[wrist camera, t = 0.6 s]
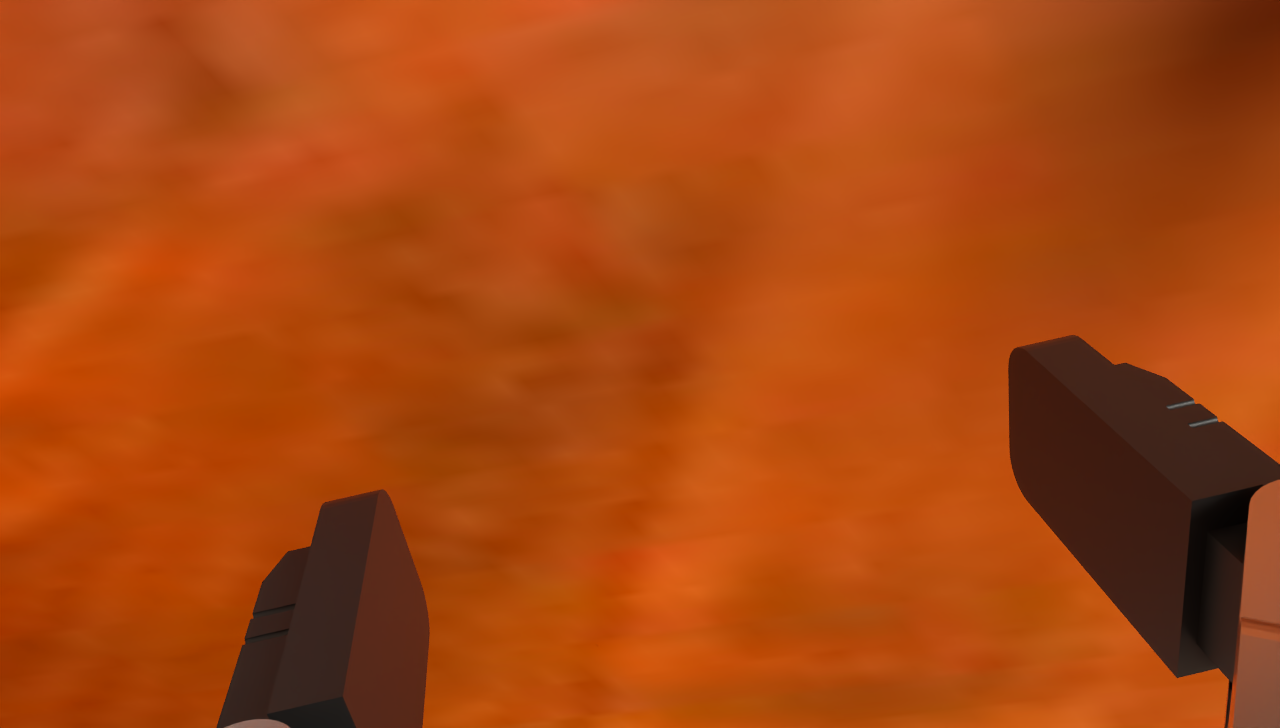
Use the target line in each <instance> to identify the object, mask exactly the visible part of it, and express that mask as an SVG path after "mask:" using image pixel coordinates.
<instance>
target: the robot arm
mask: <svg viewBox="0 0 1280 728" xmlns="http://www.w3.org/2000/svg"><path fill="white" fill-rule="evenodd" d="M1008 372H1009V438H1010V458H1011V464H1012V469H1013V472H1014V475H1015V478H1016V481H1017V484H1018V486H1019V488H1020V490H1021V492H1022V494H1023V495H1024V497H1025V498H1026V500H1027V501H1028V502H1029V503H1030V505H1031V506H1032V507H1033V508H1034V509H1035V510H1036V512H1037V513H1038V514H1039V515H1040V516H1041V518H1042V519H1043V520H1044V521H1045V522H1046V524H1047V525H1048V526H1049V527H1050V528H1051V529H1052V531H1053V532H1054V533H1055V534H1056V535H1057V537H1058V538H1059V539H1060V540H1061V541H1062V542H1063V544H1064V545H1065V546H1066V547H1067V548H1068V550H1069V551H1070V552H1071V553H1072V554H1073V555H1074V557H1075V558H1076V559H1077V560H1078V561H1079V563H1080V564H1081V565H1082V566H1083V567H1084V568H1085V570H1086V571H1087V572H1088V573H1089V574H1090V576H1091V577H1092V578H1093V579H1094V580H1095V581H1096V583H1097V584H1098V585H1099V586H1100V587H1101V589H1102V590H1103V591H1104V592H1105V593H1106V595H1107V596H1108V597H1109V598H1110V599H1111V600H1112V602H1113V603H1114V604H1115V605H1116V606H1117V608H1118V609H1119V610H1120V611H1121V612H1122V613H1123V615H1124V616H1125V617H1126V618H1127V619H1128V621H1129V622H1130V623H1131V624H1132V625H1133V626H1134V628H1135V629H1136V630H1137V631H1138V632H1139V634H1140V635H1141V636H1142V637H1143V638H1144V639H1145V641H1146V642H1147V643H1148V644H1149V645H1150V647H1151V648H1152V649H1153V650H1154V651H1155V652H1156V654H1157V655H1158V656H1159V657H1160V658H1161V660H1162V661H1163V662H1164V663H1165V664H1166V666H1167V667H1168V668H1169V669H1170V670H1171V671H1172V673H1173V674H1174V675H1175V676H1176V677H1177V678H1179V677H1183V676H1187V675H1191V674H1195V673H1200V672H1204V671H1208V670H1212V669H1216V668H1219V669H1220V670H1221V671H1222V673H1223V674H1224V675H1225V676H1226V677H1227V678H1228V679H1229V683H1228V692H1227V700H1226V711H1225V722H1224V728H1280V464H1278V463H1277V462H1276V461H1274V460H1273V459H1272V458H1271V457H1269V456H1268V455H1267V454H1265V453H1264V452H1263V451H1261V450H1260V449H1259V448H1257V447H1256V446H1255V445H1253V444H1252V443H1251V442H1249V441H1248V440H1247V439H1246V438H1244V437H1243V436H1242V435H1240V434H1239V433H1238V432H1236V431H1235V430H1234V429H1232V428H1231V427H1230V426H1228V425H1227V424H1226V423H1224V422H1218V420H1217V416H1215V415H1214V414H1213V413H1211V412H1210V411H1209V410H1207V409H1206V408H1205V407H1203V406H1202V405H1201V404H1195V403H1194V399H1193V398H1192V397H1190V396H1189V395H1188V394H1186V393H1185V392H1184V391H1182V390H1181V389H1180V388H1178V387H1177V386H1176V385H1174V384H1173V383H1172V382H1170V381H1169V380H1168V379H1167V378H1165V377H1162V376H1159V375H1157V374H1154V373H1151V372H1149V371H1146V370H1143V369H1141V368H1138V367H1135V366H1132V365H1130V364H1127V363H1122V364H1118V365H1114V364H1112V363H1111V362H1110V361H1109V360H1107V359H1106V358H1105V357H1104V356H1102V355H1101V354H1100V353H1099V352H1097V351H1096V350H1095V349H1094V348H1092V347H1091V346H1090V345H1089V344H1087V343H1086V342H1085V341H1084V340H1082V339H1081V338H1079V337H1078V336H1075V335H1070V336H1066V337H1062V338H1057V339H1053V340H1048V341H1044V342H1039V343H1035V344H1031V345H1026V346H1022V347H1017V348H1015V349H1014V350H1013V351H1012V353H1011V355H1010V358H1009V368H1008ZM253 617H254V619H251V620H250V623H249V626H248V629H247V633H246V636H245V643H246V644H245V645H242V648H241V652H240V655H239V658H238V661H237V664H236V667H235V671H234V674H233V677H232V680H231V683H230V686H229V690H228V693H227V696H226V699H225V702H224V705H223V709H222V712H221V715H220V718H219V721H218V724H217V728H422V725H423V712H424V699H425V686H426V673H427V660H428V648H429V618H428V611H427V605H426V600H425V596H424V592H423V588H422V585H421V582H420V579H419V577H418V574H417V571H416V568H415V565H414V563H413V560H412V557H411V554H410V551H409V548H408V546H407V543H406V540H405V537H404V534H403V532H402V529H401V526H400V523H399V520H398V518H397V515H396V512H395V509H394V506H393V504H392V501H391V499H390V497H389V495H388V494H387V492H386V491H385V490H377V491H373V492H369V493H364V494H360V495H355V496H351V497H347V498H342V499H338V500H333V501H329V502H325V503H323V505H322V506H321V509H320V513H319V516H318V520H317V524H316V528H315V532H314V536H313V539H312V543H311V546H310V547H306V548H302V549H297V550H293V551H288V552H287V553H286V554H285V556H284V557H283V558H282V559H281V560H280V562H279V563H278V564H277V565H276V566H275V568H274V569H273V570H272V571H271V573H270V574H269V575H268V576H267V577H266V579H265V580H264V581H263V582H262V585H261V588H260V591H259V595H258V598H257V601H256V604H255V607H254V610H253Z"/></svg>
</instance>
